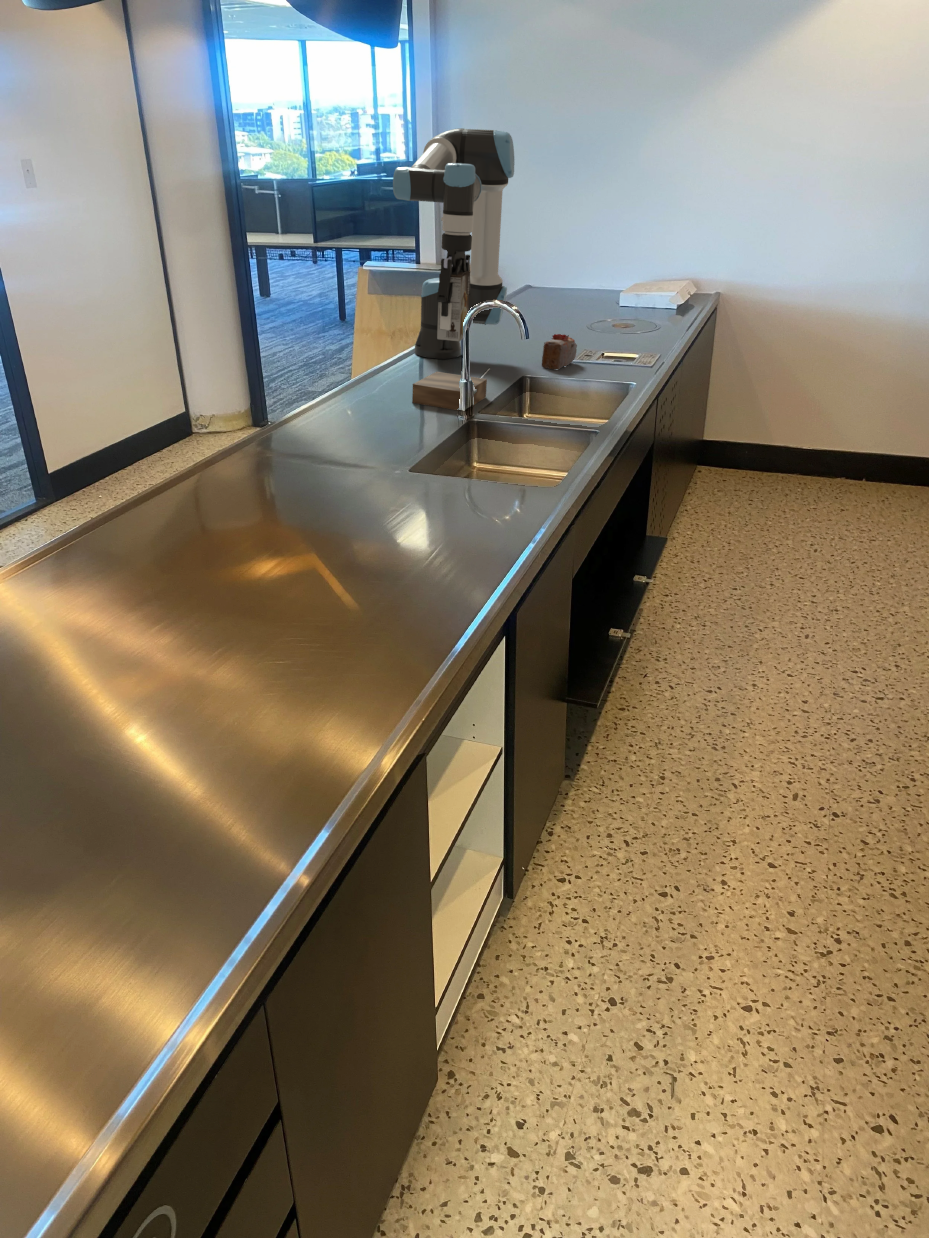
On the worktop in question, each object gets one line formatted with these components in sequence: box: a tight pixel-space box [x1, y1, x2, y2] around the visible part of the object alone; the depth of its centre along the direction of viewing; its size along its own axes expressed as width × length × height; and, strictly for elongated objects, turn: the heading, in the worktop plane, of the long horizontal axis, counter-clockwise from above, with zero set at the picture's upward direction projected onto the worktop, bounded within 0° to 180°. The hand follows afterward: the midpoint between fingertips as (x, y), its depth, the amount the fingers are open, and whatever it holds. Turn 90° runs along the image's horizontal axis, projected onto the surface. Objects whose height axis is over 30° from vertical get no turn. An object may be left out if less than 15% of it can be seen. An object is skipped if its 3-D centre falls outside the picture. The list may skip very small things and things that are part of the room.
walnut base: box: [411, 371, 488, 411], centre depth 239 cm, size 16×15×5 cm
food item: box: [541, 333, 578, 370], centre depth 280 cm, size 14×8×10 cm, turn 155°
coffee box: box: [437, 271, 470, 342], centre depth 228 cm, size 9×6×16 cm
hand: (452, 326), depth 231 cm, fingers closed on coffee box, 10 cm apart
